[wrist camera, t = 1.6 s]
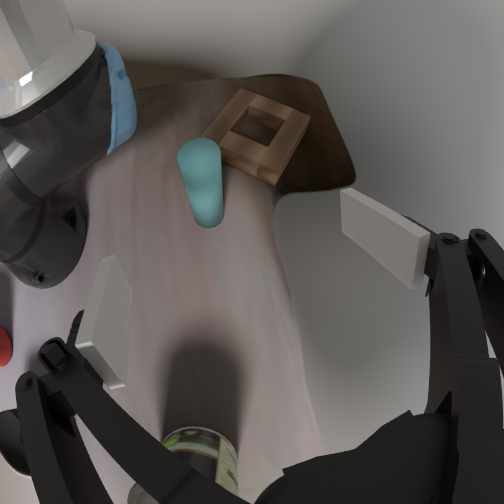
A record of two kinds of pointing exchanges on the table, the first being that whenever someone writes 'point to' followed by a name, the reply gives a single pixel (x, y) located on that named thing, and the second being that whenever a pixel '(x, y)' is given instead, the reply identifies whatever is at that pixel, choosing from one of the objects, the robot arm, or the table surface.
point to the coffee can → (198, 459)
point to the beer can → (4, 347)
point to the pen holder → (12, 441)
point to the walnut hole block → (257, 135)
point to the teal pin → (203, 180)
